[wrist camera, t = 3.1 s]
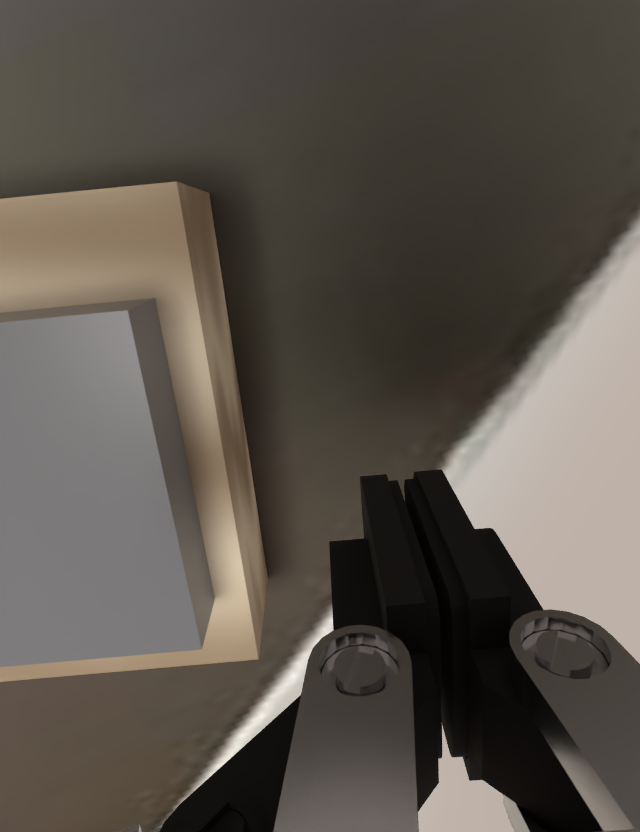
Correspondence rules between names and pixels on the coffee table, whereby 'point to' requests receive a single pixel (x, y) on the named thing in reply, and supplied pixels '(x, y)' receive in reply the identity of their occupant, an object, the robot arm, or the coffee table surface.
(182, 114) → the coffee table surface
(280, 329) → the coffee table surface
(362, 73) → the coffee table surface
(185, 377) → the light wood flat block
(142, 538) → the grey rectangular block
